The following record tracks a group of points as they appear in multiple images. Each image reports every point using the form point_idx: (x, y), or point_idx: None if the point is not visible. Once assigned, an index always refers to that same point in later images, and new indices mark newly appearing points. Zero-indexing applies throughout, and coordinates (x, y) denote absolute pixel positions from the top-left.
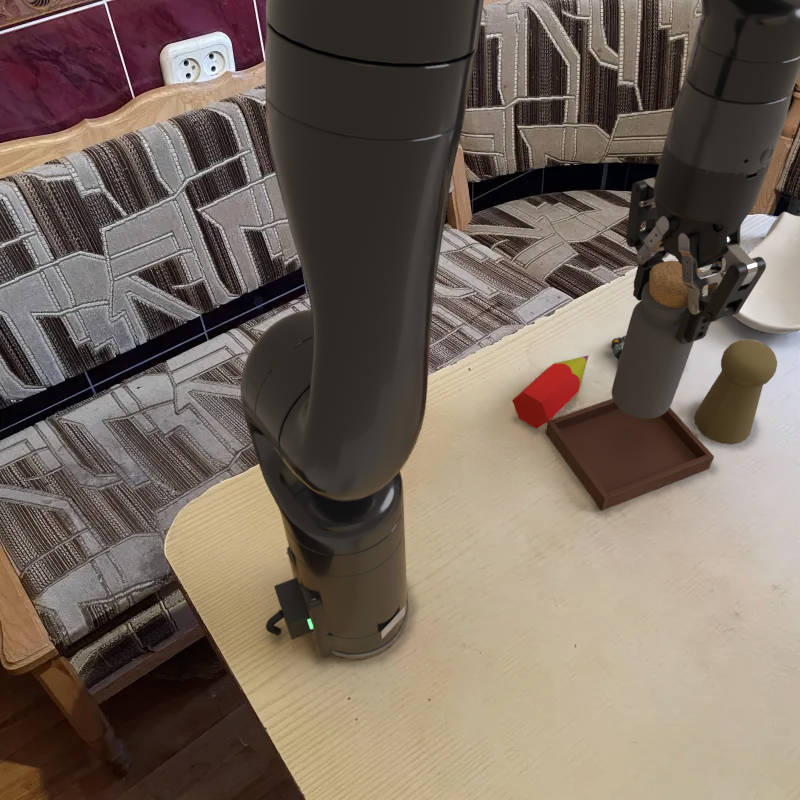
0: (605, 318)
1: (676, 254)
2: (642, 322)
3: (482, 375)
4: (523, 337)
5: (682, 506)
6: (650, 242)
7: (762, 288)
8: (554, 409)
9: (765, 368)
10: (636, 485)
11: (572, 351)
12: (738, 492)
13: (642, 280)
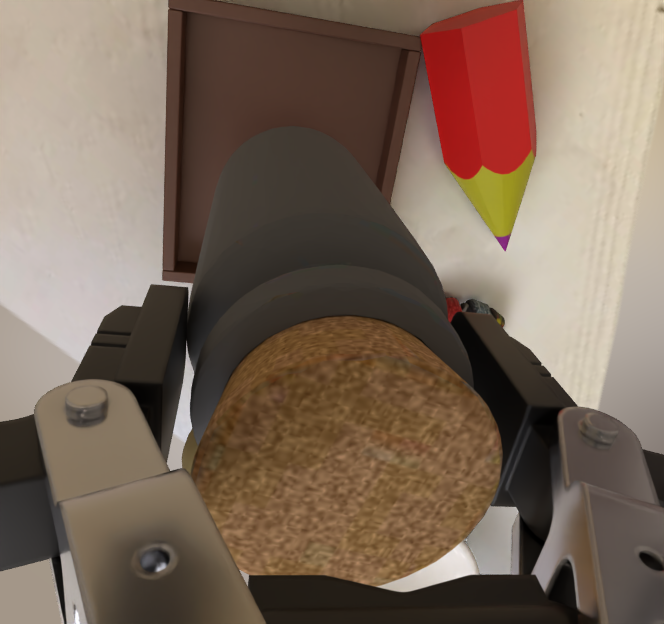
0: (554, 349)
1: (400, 618)
2: (341, 234)
3: (627, 25)
4: (635, 184)
5: (113, 160)
6: (645, 547)
7: (424, 577)
8: (435, 68)
9: (190, 473)
10: (170, 89)
11: (539, 244)
12: (99, 273)
13: (498, 366)
